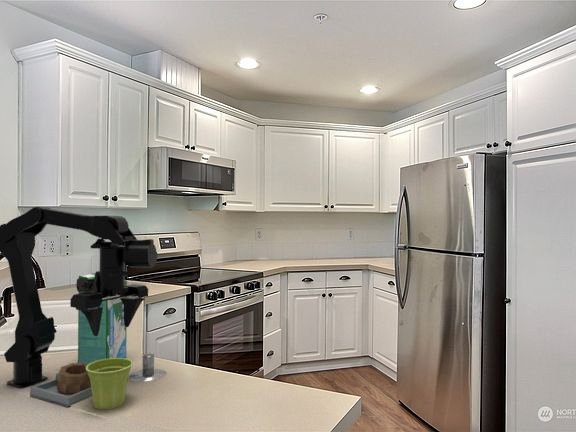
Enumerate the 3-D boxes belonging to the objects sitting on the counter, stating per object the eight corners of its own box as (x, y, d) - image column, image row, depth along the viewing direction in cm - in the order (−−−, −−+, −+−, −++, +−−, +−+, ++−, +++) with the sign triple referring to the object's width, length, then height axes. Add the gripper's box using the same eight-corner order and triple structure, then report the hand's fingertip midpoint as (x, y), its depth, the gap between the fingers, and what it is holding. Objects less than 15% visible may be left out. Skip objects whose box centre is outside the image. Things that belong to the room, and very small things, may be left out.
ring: (71, 396, 93) (73, 379, 93) (44, 383, 97) (46, 366, 97) (97, 385, 99) (99, 369, 99) (72, 373, 103) (73, 357, 103)
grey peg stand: (121, 379, 105) (121, 357, 105) (148, 368, 113) (148, 348, 113) (148, 385, 101) (148, 363, 101) (173, 373, 109) (174, 352, 109)
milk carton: (107, 369, 112) (107, 276, 112) (77, 367, 114) (78, 275, 114) (126, 358, 121) (127, 272, 121) (98, 356, 122) (99, 271, 123)
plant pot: (118, 392, 97) (119, 354, 97) (141, 403, 91) (141, 363, 91) (77, 405, 90) (77, 365, 90) (98, 419, 84) (99, 375, 84)
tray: (30, 396, 95) (30, 387, 95) (80, 377, 106) (80, 369, 106) (68, 407, 89) (68, 398, 89) (117, 386, 101) (117, 377, 101)
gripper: (119, 262, 114) (118, 319, 114) (54, 269, 97) (54, 336, 97) (149, 264, 109) (149, 324, 109) (87, 271, 92) (87, 342, 92)
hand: (111, 331), depth 102 cm, fingers open, 9 cm apart
